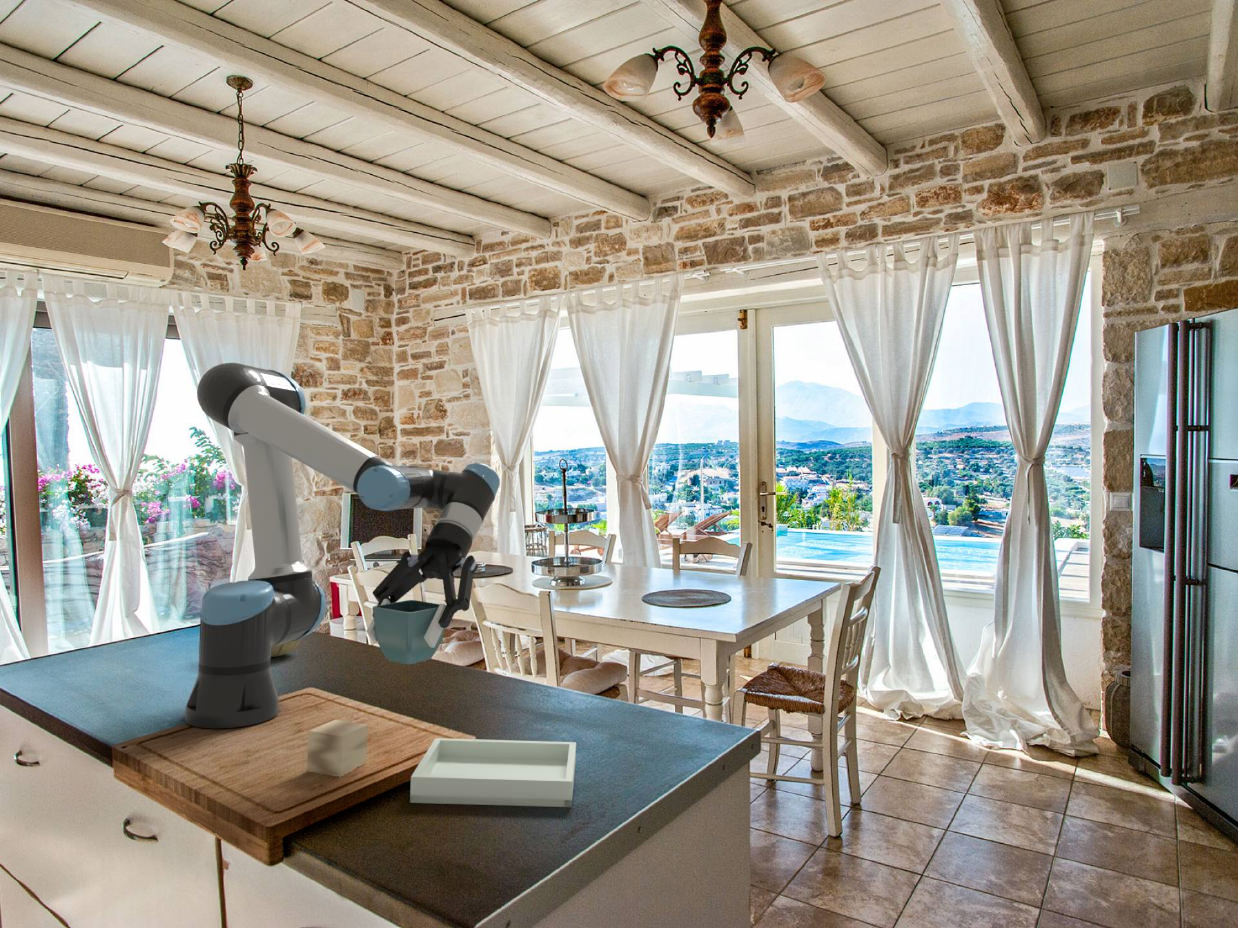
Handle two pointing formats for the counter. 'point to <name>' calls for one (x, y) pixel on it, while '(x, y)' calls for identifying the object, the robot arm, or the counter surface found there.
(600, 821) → the counter surface
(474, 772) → the tray
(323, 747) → the beech block
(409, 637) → the flower pot
